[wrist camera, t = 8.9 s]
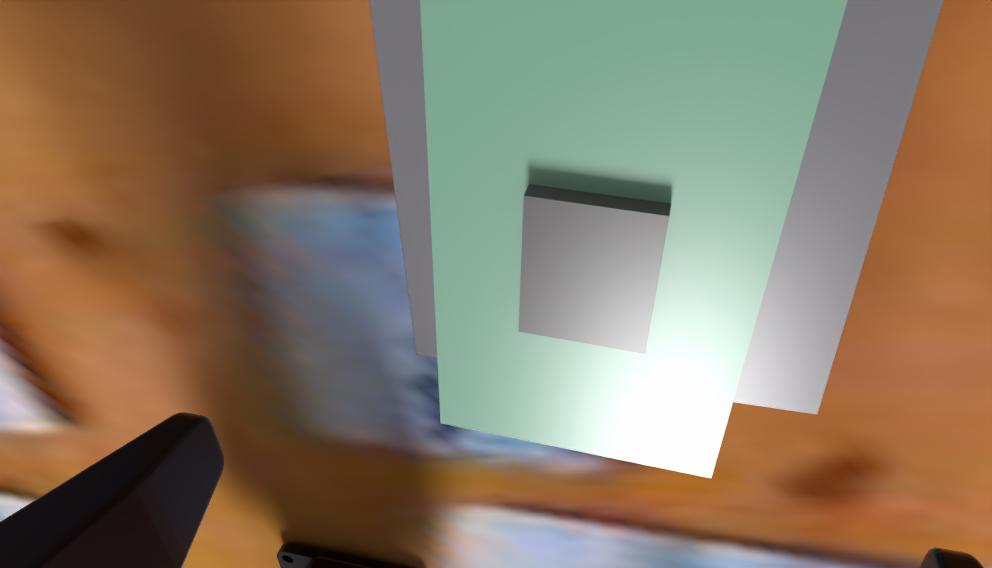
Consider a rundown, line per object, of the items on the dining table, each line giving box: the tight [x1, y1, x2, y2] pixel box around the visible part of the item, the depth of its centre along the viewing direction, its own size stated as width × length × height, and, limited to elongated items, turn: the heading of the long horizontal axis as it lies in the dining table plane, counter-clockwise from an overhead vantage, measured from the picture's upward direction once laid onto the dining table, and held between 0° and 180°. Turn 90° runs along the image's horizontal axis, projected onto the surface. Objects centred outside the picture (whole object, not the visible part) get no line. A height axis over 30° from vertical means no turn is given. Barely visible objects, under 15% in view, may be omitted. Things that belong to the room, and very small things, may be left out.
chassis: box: [369, 0, 944, 414], centre depth 17 cm, size 14×11×3 cm
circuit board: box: [420, 0, 848, 478], centre depth 15 cm, size 10×6×3 cm, turn 0°
